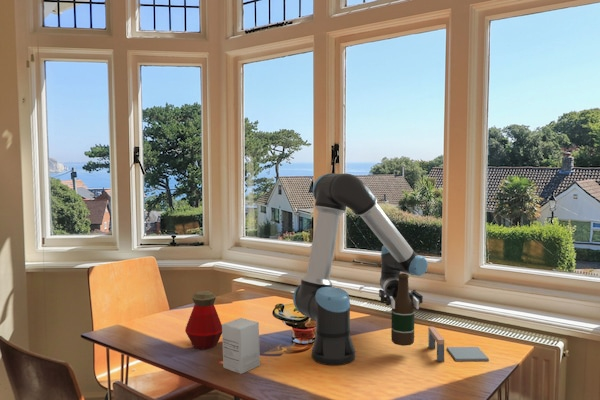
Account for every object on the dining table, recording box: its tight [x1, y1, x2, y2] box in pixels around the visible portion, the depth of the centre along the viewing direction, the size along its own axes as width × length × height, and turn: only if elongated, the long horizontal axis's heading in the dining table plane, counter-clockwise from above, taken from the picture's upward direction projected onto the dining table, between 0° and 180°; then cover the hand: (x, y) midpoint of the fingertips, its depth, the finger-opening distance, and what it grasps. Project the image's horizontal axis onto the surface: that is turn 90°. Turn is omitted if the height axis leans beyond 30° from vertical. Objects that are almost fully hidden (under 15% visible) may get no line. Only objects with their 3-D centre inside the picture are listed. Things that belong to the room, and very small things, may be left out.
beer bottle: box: [390, 272, 415, 347], centre depth 171 cm, size 8×8×24 cm
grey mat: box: [446, 346, 490, 362], centre depth 171 cm, size 11×11×1 cm
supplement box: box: [221, 317, 261, 375], centre depth 163 cm, size 9×9×15 cm
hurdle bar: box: [427, 326, 445, 345], centre depth 172 cm, size 2×14×2 cm, turn 178°
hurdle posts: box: [427, 331, 445, 363], centre depth 172 cm, size 2×14×6 cm, turn 179°
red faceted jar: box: [185, 290, 223, 350], centre depth 185 cm, size 16×14×20 cm
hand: (405, 304), depth 166 cm, fingers closed on beer bottle, 7 cm apart
